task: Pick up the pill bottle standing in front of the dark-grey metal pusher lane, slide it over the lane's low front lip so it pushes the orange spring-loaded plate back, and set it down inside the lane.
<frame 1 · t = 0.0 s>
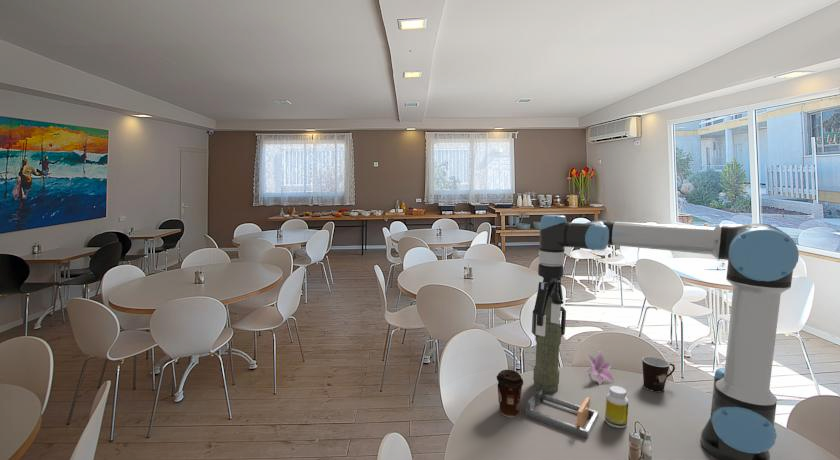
hand: (547, 328, 125), 28 cm above the table, fingers open, 13 cm apart
thermos: (545, 387, 143), on the table
coffee mug: (658, 388, 143), on the table
coffee cup: (508, 412, 127), on the table
pill bottle: (615, 423, 122), on the table
pusher: (563, 406, 124), point 3 cm above the table, slide at 0.0 cm
lily: (598, 380, 149), on the table
lane: (561, 416, 125), on the table
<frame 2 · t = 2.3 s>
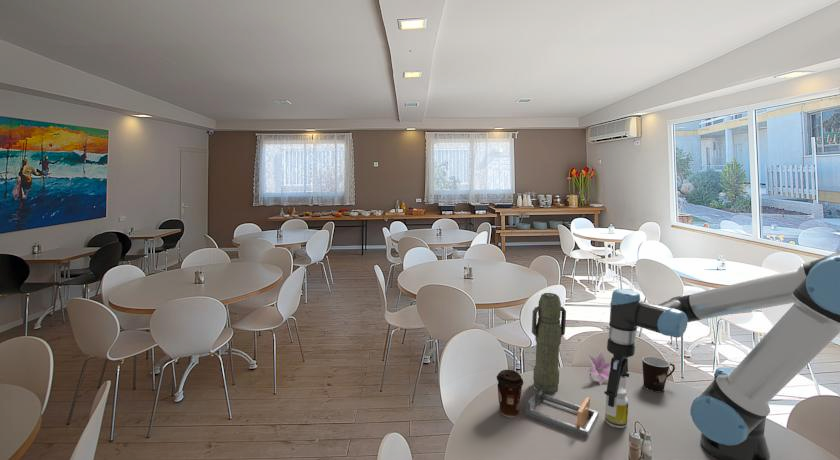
hand: (615, 404, 122), 6 cm above the table, fingers open, 13 cm apart
nothing on the table moved.
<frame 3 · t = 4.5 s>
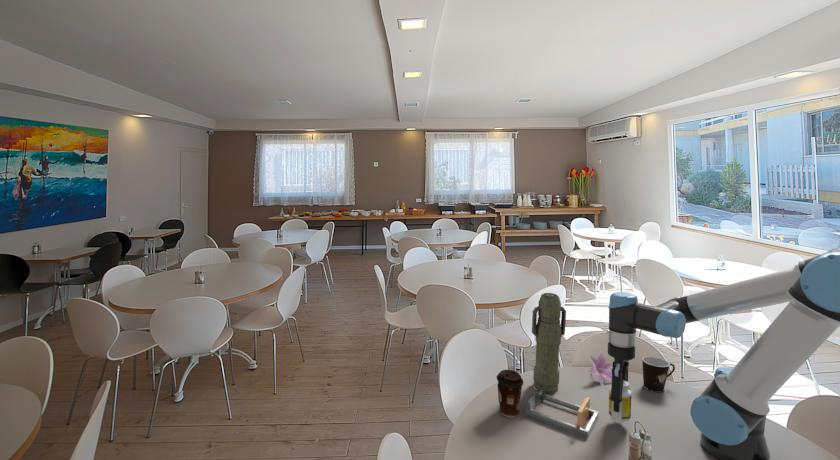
hand: (618, 415, 121), 3 cm above the table, fingers closed on pill bottle, 6 cm apart
pill bottle: (619, 416, 121), point 2 cm above the table, touching gripper
everything else where it was.
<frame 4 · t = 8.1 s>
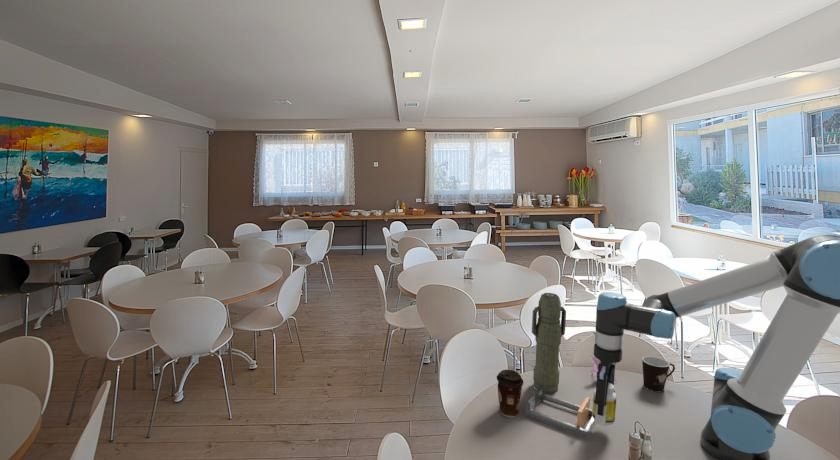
hand: (602, 418, 117), 4 cm above the table, fingers closed on pill bottle, 6 cm apart
pill bottle: (603, 420, 117), point 4 cm above the table, touching gripper
everything else where it was.
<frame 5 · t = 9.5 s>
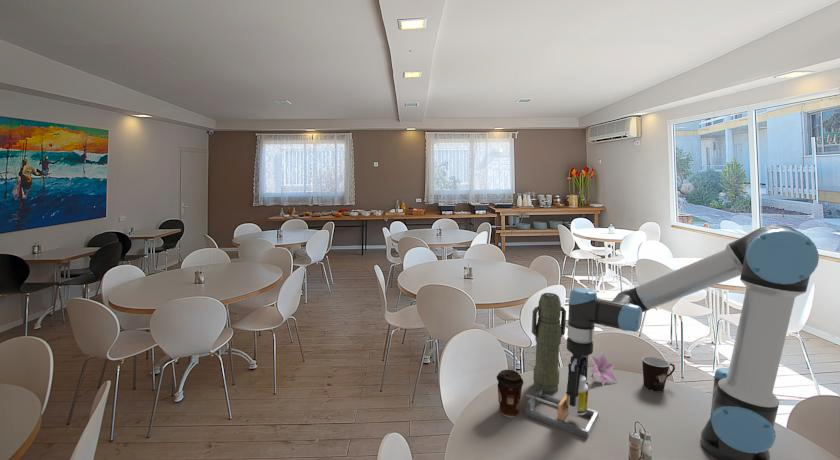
hand: (575, 409, 122), 4 cm above the table, fingers closed on pill bottle, 6 cm apart
pill bottle: (576, 410, 122), point 4 cm above the table, touching gripper, pusher
pusher: (545, 400, 128), point 3 cm above the table, slide at 5.8 cm, touching pill bottle
everything else where it was.
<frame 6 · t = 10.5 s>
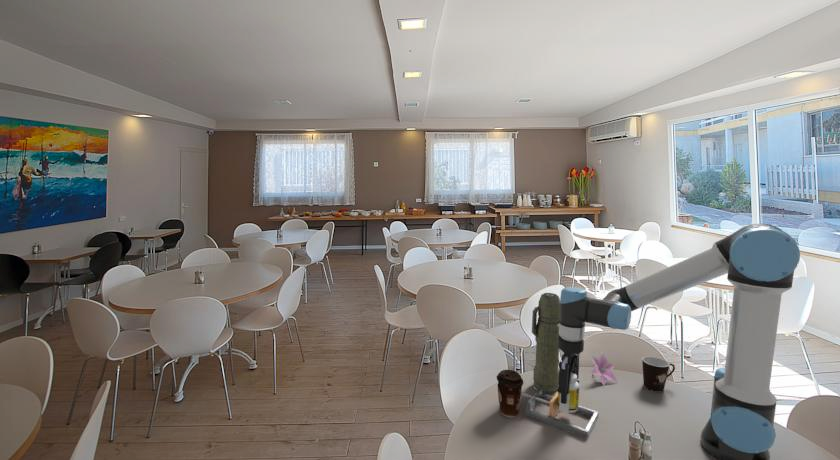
hand: (567, 406, 124), 4 cm above the table, fingers closed on pill bottle, 6 cm apart
pill bottle: (567, 408, 124), point 3 cm above the table, touching gripper
pusher: (538, 398, 129), point 3 cm above the table, slide at 8.4 cm
when the fingers open (2 cm above the table, at t = 11.5 s): pill bottle drops 2 cm, resting in lane.
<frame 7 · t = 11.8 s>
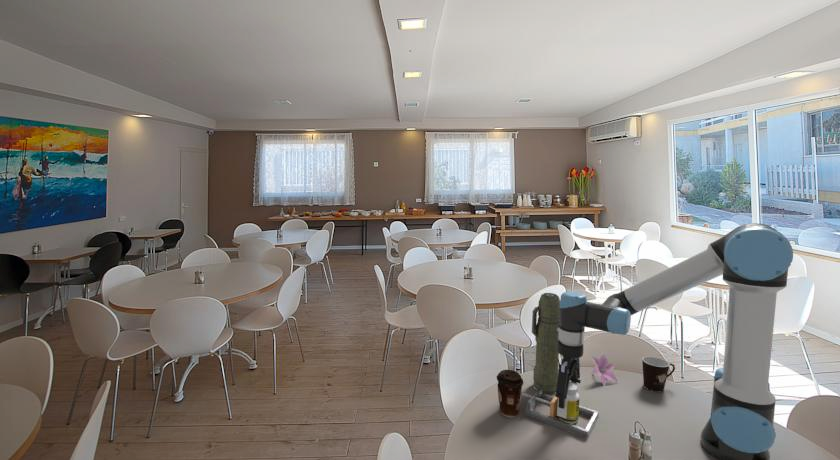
hand: (567, 408, 124), 3 cm above the table, fingers open, 10 cm apart
pill bottle: (567, 419, 124), resting in lane
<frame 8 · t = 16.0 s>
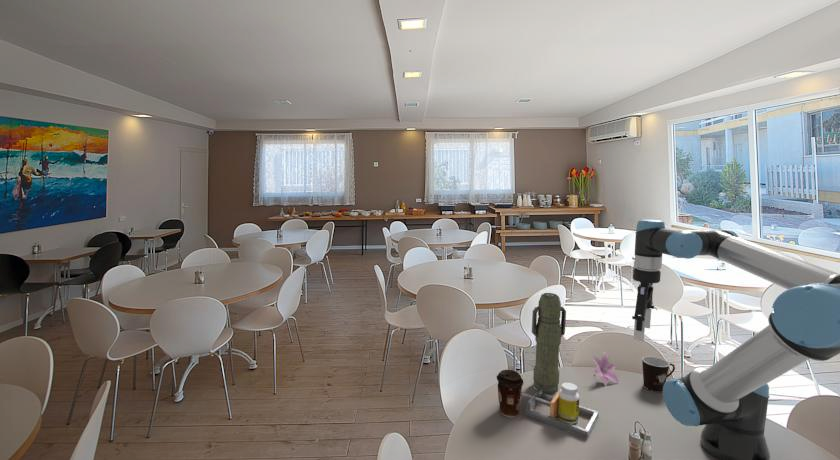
hand: (641, 333, 125), 27 cm above the table, fingers open, 13 cm apart
at the end: pill bottle inside the target area (1.0 cm from its centre), resting in lane; pill bottle tilted 0°; pusher slide at 8.2 cm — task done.
